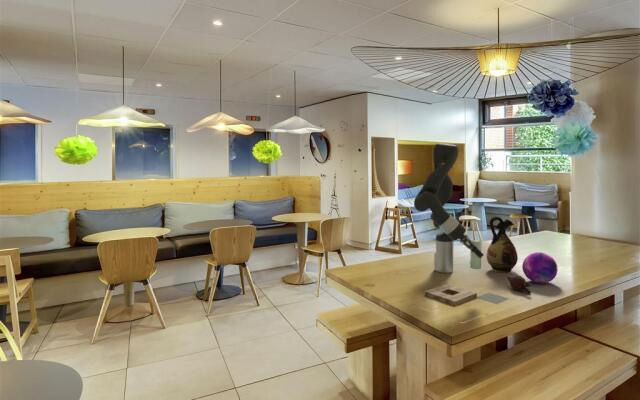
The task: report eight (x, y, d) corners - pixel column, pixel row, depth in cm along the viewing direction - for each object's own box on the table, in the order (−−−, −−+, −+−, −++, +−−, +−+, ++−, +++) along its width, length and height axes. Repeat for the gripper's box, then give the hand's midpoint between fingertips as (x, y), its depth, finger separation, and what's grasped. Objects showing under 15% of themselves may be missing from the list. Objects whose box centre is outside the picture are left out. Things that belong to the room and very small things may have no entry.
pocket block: (424, 296, 173) (424, 291, 173) (446, 288, 182) (446, 284, 182) (454, 306, 160) (454, 301, 160) (476, 297, 169) (476, 293, 169)
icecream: (499, 272, 184) (521, 285, 170) (512, 268, 185) (536, 279, 171) (501, 285, 186) (523, 298, 171) (514, 280, 187) (537, 293, 172)
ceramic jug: (510, 266, 216) (511, 214, 213) (522, 274, 201) (523, 218, 198) (479, 266, 218) (480, 214, 215) (488, 274, 202) (489, 219, 199)
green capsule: (468, 267, 168) (468, 241, 167) (474, 265, 171) (474, 239, 169) (477, 269, 165) (477, 242, 163) (483, 268, 167) (483, 241, 166)
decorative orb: (548, 289, 177) (549, 258, 176) (516, 282, 189) (517, 252, 188) (562, 283, 186) (563, 253, 185) (530, 276, 198) (531, 247, 197)
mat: (475, 298, 169) (475, 297, 169) (488, 293, 174) (488, 292, 174) (497, 304, 161) (497, 303, 161) (509, 299, 166) (509, 298, 166)
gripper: (461, 224, 160) (491, 253, 159) (455, 219, 174) (483, 245, 173) (447, 236, 161) (477, 265, 160) (443, 230, 175) (471, 256, 174)
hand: (480, 254), depth 167 cm, fingers closed on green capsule, 4 cm apart
